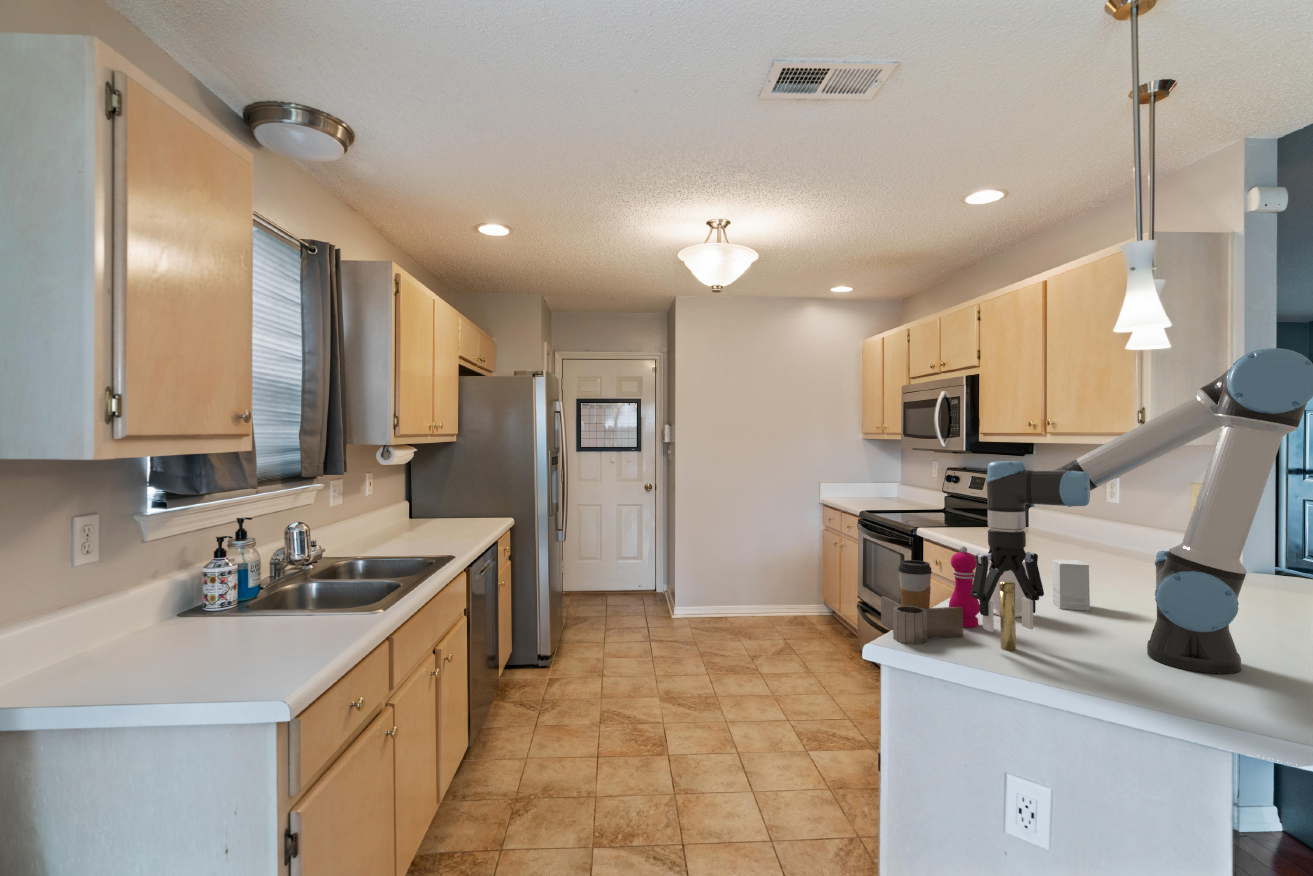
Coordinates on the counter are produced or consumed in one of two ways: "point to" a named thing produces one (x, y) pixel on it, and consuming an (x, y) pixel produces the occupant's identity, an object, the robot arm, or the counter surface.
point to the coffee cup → (915, 583)
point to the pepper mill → (964, 587)
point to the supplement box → (1071, 584)
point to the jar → (1018, 592)
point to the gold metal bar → (1007, 615)
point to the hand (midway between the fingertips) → (1008, 628)
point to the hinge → (921, 622)
